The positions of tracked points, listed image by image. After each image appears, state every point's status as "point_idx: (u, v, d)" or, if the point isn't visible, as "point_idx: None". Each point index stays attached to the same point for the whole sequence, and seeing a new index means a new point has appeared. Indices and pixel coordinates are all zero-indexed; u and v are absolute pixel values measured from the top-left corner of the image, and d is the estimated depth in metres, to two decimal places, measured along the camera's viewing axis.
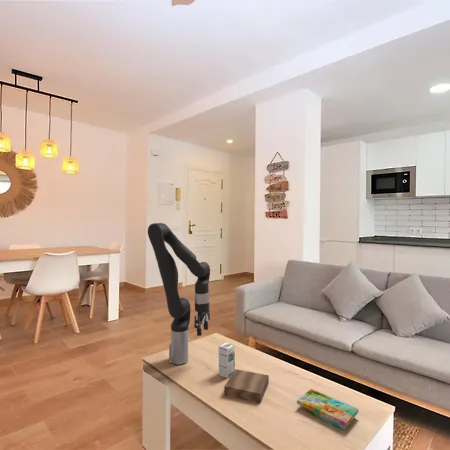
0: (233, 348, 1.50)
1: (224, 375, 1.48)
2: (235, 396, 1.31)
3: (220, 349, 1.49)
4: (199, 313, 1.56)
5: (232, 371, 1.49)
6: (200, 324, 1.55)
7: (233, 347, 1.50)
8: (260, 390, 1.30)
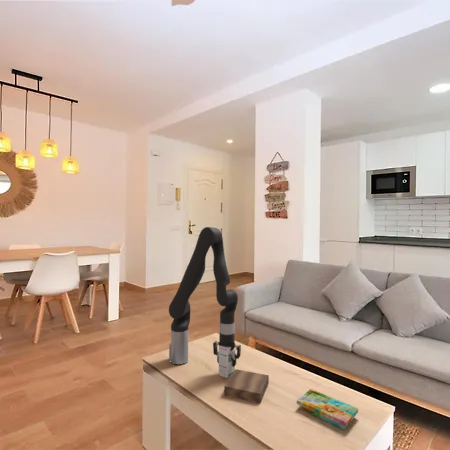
0: None
1: (224, 375, 1.48)
2: (235, 396, 1.31)
3: (220, 349, 1.49)
4: (234, 342, 1.49)
5: (232, 371, 1.49)
6: (235, 353, 1.50)
7: None
8: (260, 390, 1.30)
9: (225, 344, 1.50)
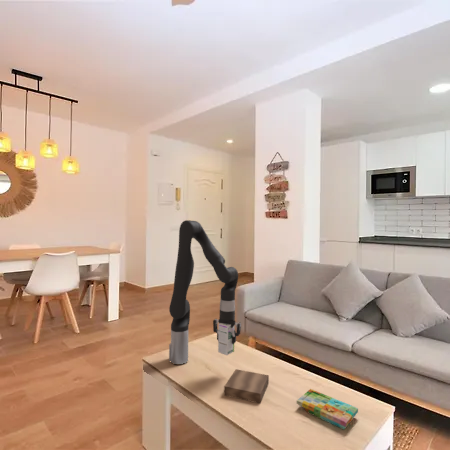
0: (233, 326, 1.50)
1: (223, 352, 1.48)
2: (235, 396, 1.31)
3: (220, 326, 1.49)
4: (234, 320, 1.49)
5: (231, 349, 1.49)
6: (235, 331, 1.50)
7: None
8: (260, 390, 1.30)
9: (225, 321, 1.49)
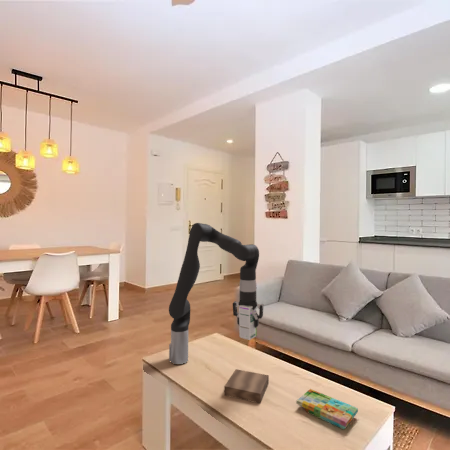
0: (255, 308, 1.38)
1: (246, 337, 1.35)
2: (235, 396, 1.31)
3: (241, 309, 1.37)
4: None
5: (254, 333, 1.37)
6: None
7: None
8: (260, 390, 1.30)
9: (246, 303, 1.37)
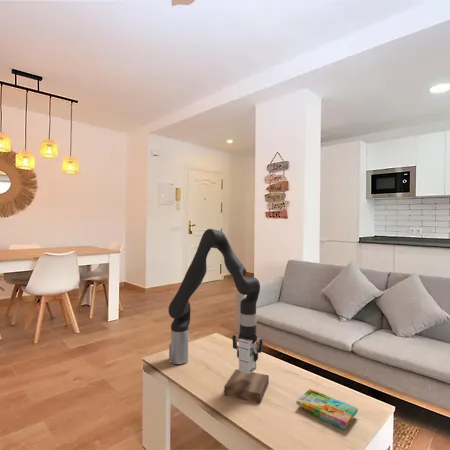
0: None
1: (245, 371, 1.35)
2: (235, 396, 1.31)
3: (241, 342, 1.36)
4: None
5: (253, 367, 1.36)
6: None
7: None
8: (260, 390, 1.30)
9: (246, 337, 1.37)
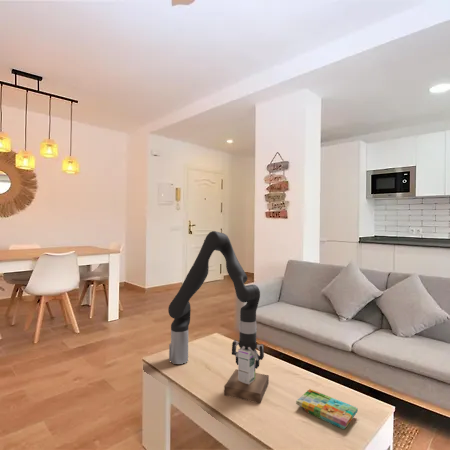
0: None
1: (245, 381, 1.35)
2: (235, 396, 1.31)
3: (240, 352, 1.36)
4: None
5: (252, 377, 1.37)
6: (257, 354, 1.37)
7: None
8: (260, 390, 1.30)
9: (246, 344, 1.37)
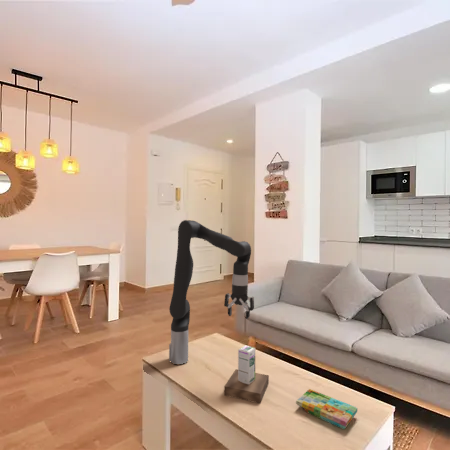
0: (254, 351, 1.38)
1: (245, 381, 1.35)
2: (235, 396, 1.31)
3: (240, 353, 1.36)
4: None
5: (252, 377, 1.37)
6: (248, 306, 1.46)
7: (254, 350, 1.38)
8: (260, 390, 1.30)
9: (237, 296, 1.46)
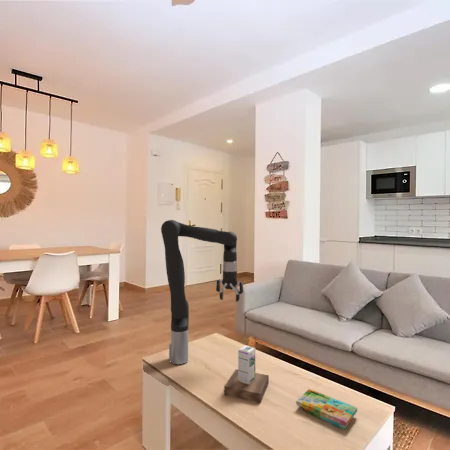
0: (254, 351, 1.38)
1: (245, 381, 1.35)
2: (235, 396, 1.31)
3: (240, 353, 1.36)
4: (236, 280, 1.61)
5: (252, 377, 1.37)
6: (238, 290, 1.62)
7: (254, 350, 1.38)
8: (260, 390, 1.30)
9: (228, 281, 1.61)
